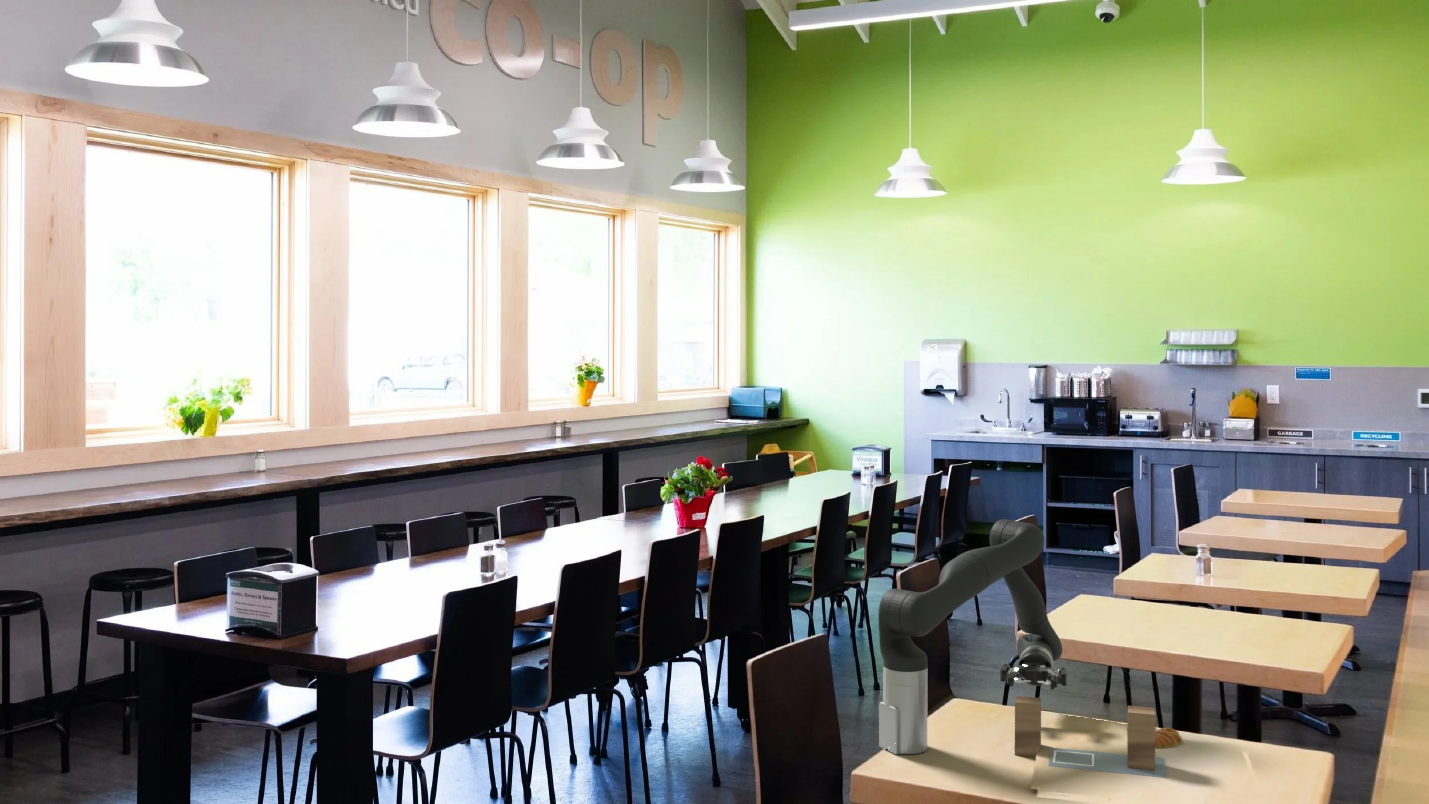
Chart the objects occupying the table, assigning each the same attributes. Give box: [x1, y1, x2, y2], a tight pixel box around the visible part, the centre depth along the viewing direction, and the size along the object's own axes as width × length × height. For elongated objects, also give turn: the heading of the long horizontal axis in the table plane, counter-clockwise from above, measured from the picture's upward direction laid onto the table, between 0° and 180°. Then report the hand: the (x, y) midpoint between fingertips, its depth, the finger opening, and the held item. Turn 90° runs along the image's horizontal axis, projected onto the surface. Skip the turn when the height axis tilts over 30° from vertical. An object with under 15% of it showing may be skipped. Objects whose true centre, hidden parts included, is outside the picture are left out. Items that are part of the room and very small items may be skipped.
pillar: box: [1014, 695, 1042, 758], centre depth 240 cm, size 5×5×11 cm
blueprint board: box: [1048, 747, 1168, 779], centre depth 231 cm, size 12×22×1 cm, turn 72°
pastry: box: [1155, 727, 1184, 750], centre depth 243 cm, size 9×7×4 cm
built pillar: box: [1126, 705, 1156, 771], centre depth 228 cm, size 5×5×11 cm
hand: (1031, 683), depth 251 cm, fingers open, 8 cm apart
